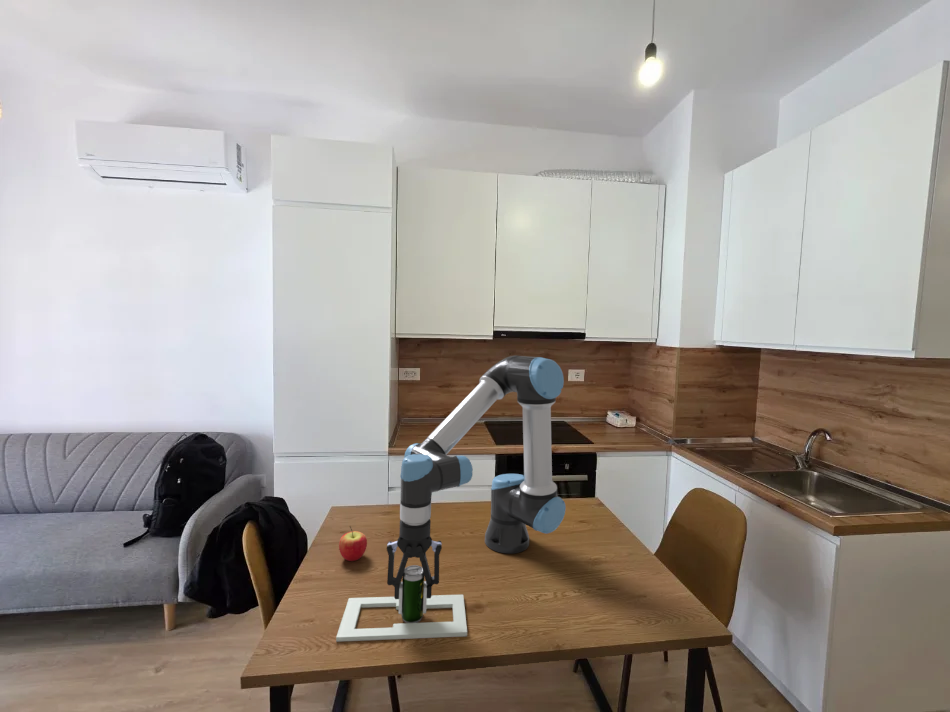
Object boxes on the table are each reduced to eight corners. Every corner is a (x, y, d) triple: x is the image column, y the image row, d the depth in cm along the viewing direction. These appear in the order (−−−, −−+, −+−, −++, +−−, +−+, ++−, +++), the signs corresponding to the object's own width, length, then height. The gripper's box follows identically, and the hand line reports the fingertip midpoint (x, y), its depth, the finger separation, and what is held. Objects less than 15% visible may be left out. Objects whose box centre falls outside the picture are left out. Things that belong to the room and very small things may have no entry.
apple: (355, 548, 134) (355, 518, 134) (372, 557, 129) (373, 526, 129) (333, 559, 128) (333, 528, 127) (350, 569, 123) (351, 536, 122)
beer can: (402, 626, 100) (403, 578, 99) (400, 611, 105) (401, 565, 104) (424, 623, 101) (425, 575, 100) (421, 608, 106) (423, 563, 105)
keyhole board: (463, 598, 111) (463, 594, 111) (467, 636, 97) (467, 632, 97) (348, 601, 108) (348, 598, 108) (336, 641, 94) (336, 637, 94)
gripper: (451, 512, 106) (449, 599, 107) (379, 512, 104) (377, 601, 106) (453, 525, 99) (449, 619, 100) (375, 526, 97) (372, 621, 98)
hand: (412, 609), depth 103 cm, fingers closed on beer can, 5 cm apart
